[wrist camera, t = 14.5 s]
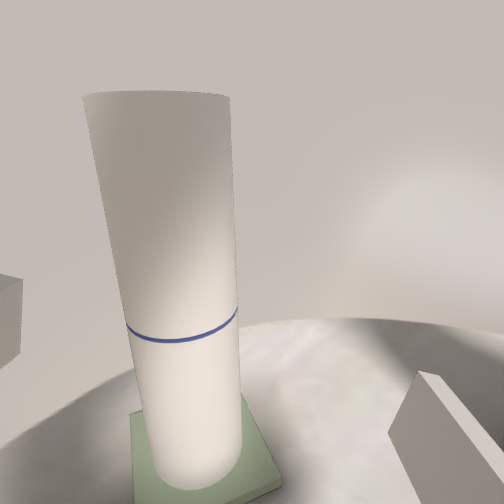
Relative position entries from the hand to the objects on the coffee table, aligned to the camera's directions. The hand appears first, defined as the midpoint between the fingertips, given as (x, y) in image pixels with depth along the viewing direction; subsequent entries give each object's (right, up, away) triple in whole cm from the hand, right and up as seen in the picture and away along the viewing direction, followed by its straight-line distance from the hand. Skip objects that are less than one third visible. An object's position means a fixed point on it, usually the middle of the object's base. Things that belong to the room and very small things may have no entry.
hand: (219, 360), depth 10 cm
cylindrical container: (-3, -12, +15) cm, 19 cm away
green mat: (-3, -13, +15) cm, 20 cm away
